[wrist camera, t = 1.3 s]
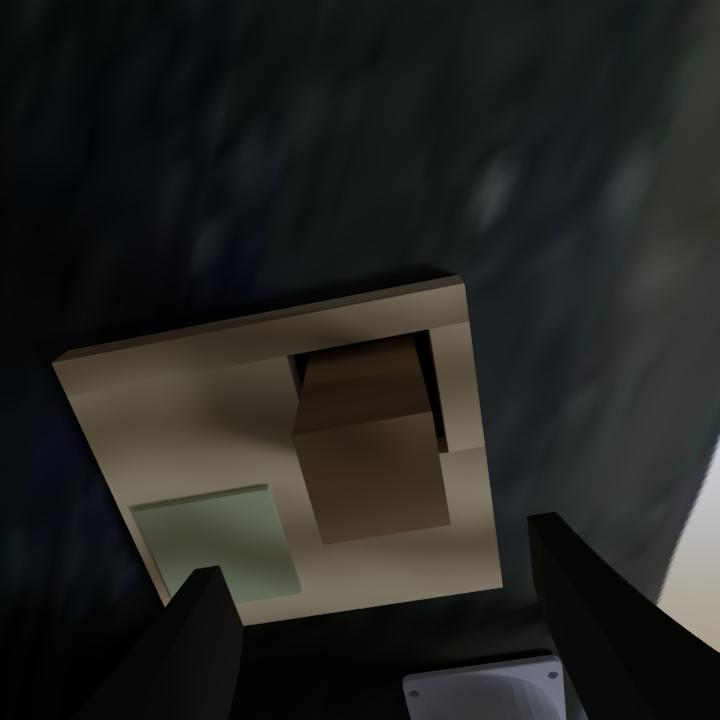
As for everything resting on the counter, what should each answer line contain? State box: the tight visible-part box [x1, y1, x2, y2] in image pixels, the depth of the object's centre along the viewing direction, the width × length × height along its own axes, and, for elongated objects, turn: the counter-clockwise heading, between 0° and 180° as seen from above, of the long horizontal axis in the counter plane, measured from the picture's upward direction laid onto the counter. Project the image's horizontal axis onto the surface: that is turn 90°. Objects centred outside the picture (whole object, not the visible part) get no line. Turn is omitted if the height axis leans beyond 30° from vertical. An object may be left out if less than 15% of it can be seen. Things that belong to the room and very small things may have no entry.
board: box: [52, 275, 503, 626], centre depth 22 cm, size 14×15×2 cm
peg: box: [291, 336, 451, 545], centre depth 18 cm, size 4×4×6 cm
